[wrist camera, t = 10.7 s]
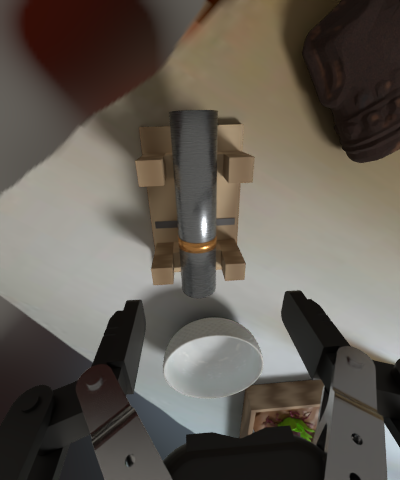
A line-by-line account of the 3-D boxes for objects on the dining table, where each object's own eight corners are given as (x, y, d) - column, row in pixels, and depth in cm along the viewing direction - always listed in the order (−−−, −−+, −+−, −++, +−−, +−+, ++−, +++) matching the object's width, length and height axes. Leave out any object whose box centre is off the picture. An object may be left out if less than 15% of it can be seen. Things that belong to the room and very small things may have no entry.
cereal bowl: (154, 312, 39) (149, 348, 33) (247, 293, 39) (260, 326, 32) (178, 370, 47) (177, 408, 41) (255, 355, 46) (267, 391, 40)
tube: (174, 113, 22) (163, 111, 18) (218, 112, 22) (217, 109, 18) (184, 275, 31) (179, 297, 27) (216, 277, 31) (215, 299, 27)
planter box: (352, 376, 52) (368, 399, 48) (326, 430, 64) (337, 453, 59) (245, 385, 51) (251, 410, 46) (239, 439, 62) (243, 463, 58)
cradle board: (241, 124, 26) (261, 123, 20) (234, 265, 36) (245, 296, 29) (140, 127, 26) (125, 126, 19) (158, 269, 35) (153, 302, 28)
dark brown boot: (376, 177, 23) (588, 46, 17) (300, 37, 18) (559, -221, 12) (336, 158, 31) (469, 66, 25) (277, 58, 26) (423, -87, 20)
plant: (303, 378, 52) (331, 437, 42) (334, 409, 60) (364, 466, 50) (233, 412, 57) (244, 472, 47) (270, 437, 64) (287, 494, 54)
